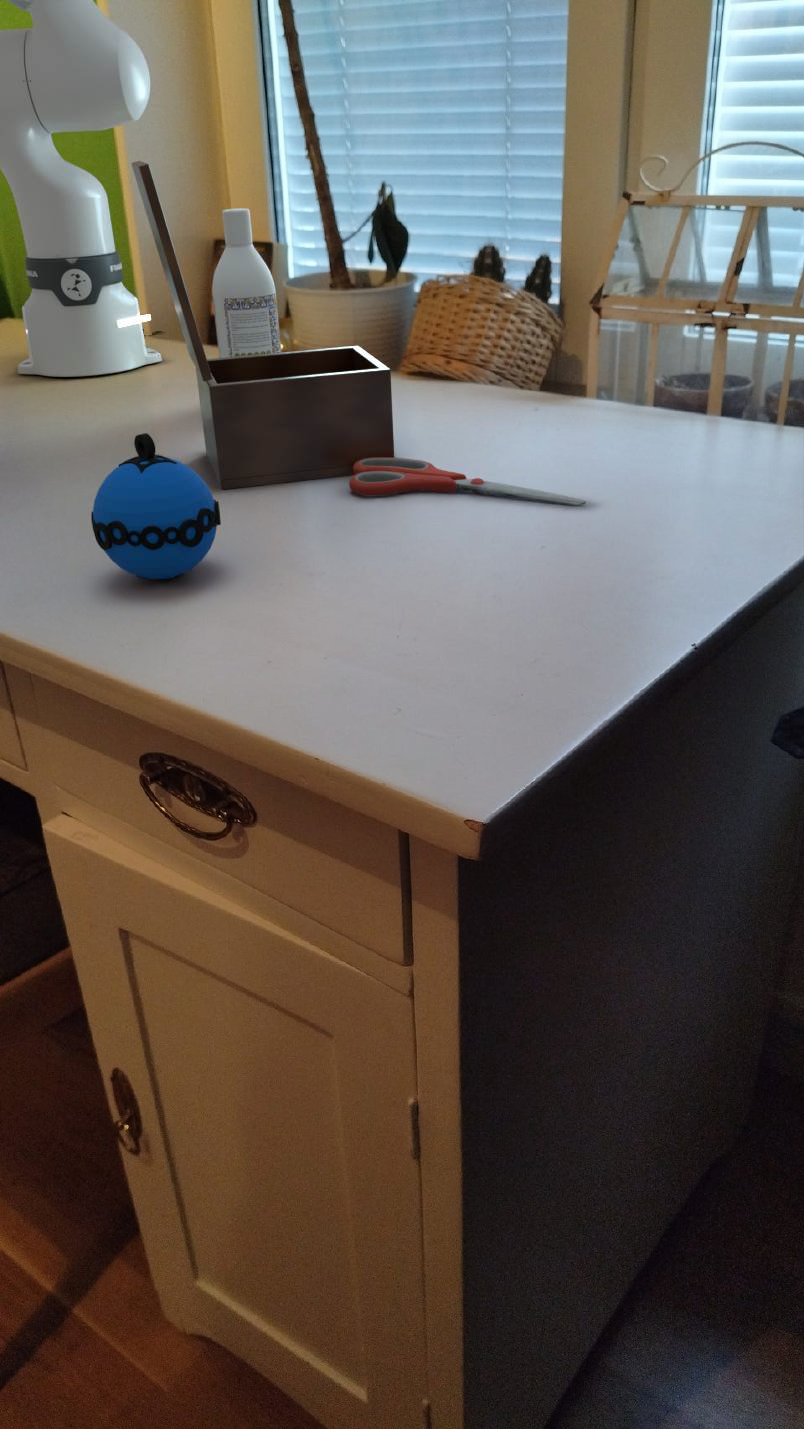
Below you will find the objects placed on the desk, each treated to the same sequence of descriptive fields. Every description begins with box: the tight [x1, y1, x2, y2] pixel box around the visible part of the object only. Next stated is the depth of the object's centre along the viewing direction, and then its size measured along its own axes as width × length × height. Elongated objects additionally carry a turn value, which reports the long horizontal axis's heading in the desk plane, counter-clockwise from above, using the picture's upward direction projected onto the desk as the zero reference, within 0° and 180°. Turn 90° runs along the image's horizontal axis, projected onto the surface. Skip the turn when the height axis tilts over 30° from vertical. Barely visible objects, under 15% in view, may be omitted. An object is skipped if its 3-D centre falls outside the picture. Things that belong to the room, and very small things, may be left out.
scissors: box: [348, 457, 587, 506], centre depth 93 cm, size 8×21×2 cm, turn 74°
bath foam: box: [211, 208, 282, 358], centre depth 122 cm, size 7×7×20 cm
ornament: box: [90, 432, 222, 581], centre depth 75 cm, size 9×9×10 cm
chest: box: [195, 345, 395, 491], centre depth 100 cm, size 16×13×9 cm
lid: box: [130, 160, 212, 382], centre depth 92 cm, size 16×13×1 cm
